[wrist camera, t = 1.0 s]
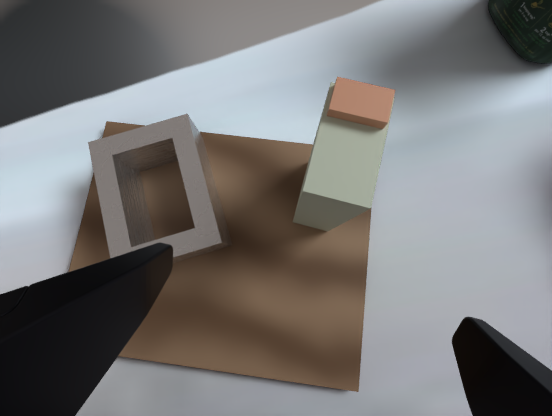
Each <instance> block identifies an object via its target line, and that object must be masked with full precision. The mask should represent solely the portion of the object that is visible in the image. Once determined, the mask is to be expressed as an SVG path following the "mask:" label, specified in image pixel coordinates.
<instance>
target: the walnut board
mask: <svg viewBox="0 0 552 416" xmlns="http://www.w3.org/2000/svg"><path fill="white" fill-rule="evenodd" d="M143 126H144V125H135V124H126V123H117V122H108V121H107V122H106V126H105V130H104V133H103V137H102V138H105V137H109V136H112V135H115V134H119V133H122V132H126V131H129V130H133V129H136V128H140V127H143ZM200 134H201V135H202V137H203V140H204V144H205V147H206V151H207V155H208V158H209V162H210V166H211V169H212V173H213V177H214V180H215V184H216V188H217V191H218V195H219V199H220V202H221V206H222V210H223V213H224V217H225V221H226V224H227V228H228V232H229V235H230V239H231V243H232V245H231V246H228V247H224V248H221V249H218V250H214V251H211V252H208V253H205V254H201V255H198V256H195V257H192V258H188V259H185V260H182V261H178V262H175V263H173V268H172V272H171V274H170V276H169V278H168V279H167V281H166V283H165V285H164V286H163V288H162V290H161V292H160V294H159V295H158V297H157V299H156V301H155V302H154V304H153V306H152V308H151V309H150V311H149V313H148V314H147V316H146V317H145V319H144V320H143V322H142V323H141V325H140V326H139V328H138V329H137V330H136V332H135V333H134V334H133V336H132V337H131V339H130V340H129V341H128V343H127V344H126V346H125V347H124V348H123V350H122V351H121V353H120V354H119V355H118V356H122V357H128V358H135V359H142V360H149V361H155V362H162V363H169V364H175V365H182V366H189V367H196V368H202V369H209V370H216V371H222V372H229V373H236V374H243V375H249V376H256V377H263V378H269V379H276V380H283V381H289V382H296V383H303V384H310V385H316V386H323V387H330V388H336V389H343V390H350V391H357V392H358V390H359V376H360V362H361V347H362V333H363V319H364V304H365V290H366V276H367V262H368V247H369V233H370V219H371V209H369V210H367V211H365V212H363V213H361V214H359V215H358V216H356V217H354V218H352V219H350V220H348V221H346V222H345V223H343V224H341V225H339V226H337V227H335V228H333V229H332V230H330V231H324V230H320V229H317V228H313V227H309V226H305V225H302V224H298V223H294V222H293V219H294V215H295V211H296V207H297V203H298V200H299V196H300V192H301V188H302V184H303V180H304V177H305V173H306V169H307V165H308V161H309V158H310V154H311V151H312V147H313V145H312V144H303V143H294V142H285V141H276V140H268V139H259V138H250V137H241V136H232V135H223V134H214V133H206V132H200ZM140 174H141V178H142V183H143V187H144V192H145V196H146V201H147V205H148V210H149V214H150V219H151V223H152V228H153V232H154V237H155V240H157V239H160V238H164V237H167V236H170V235H174V234H177V233H180V232H183V231H187V230H190V229H193V228H195V226H194V222H193V218H192V214H191V210H190V206H189V202H188V198H187V194H186V190H185V186H184V182H183V178H182V174H181V170H180V166H179V162H178V161H176V162H172V163H169V164H165V165H162V166H159V167H155V168H152V169H148V170H145V171H142V172H140ZM107 259H110V253H109V248H108V243H107V238H106V233H105V227H104V222H103V217H102V212H101V207H100V201H99V196H98V191H97V186H96V181H95V175H94V173H93V177H92V181H91V185H90V189H89V193H88V197H87V201H86V205H85V209H84V213H83V217H82V221H81V225H80V229H79V233H78V237H77V241H76V245H75V249H74V253H73V257H72V261H71V265H70V269H69V272H70V271H73V270H77V269H80V268H83V267H86V266H89V265H92V264H95V263H98V262H101V261H104V260H107Z"/></svg>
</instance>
